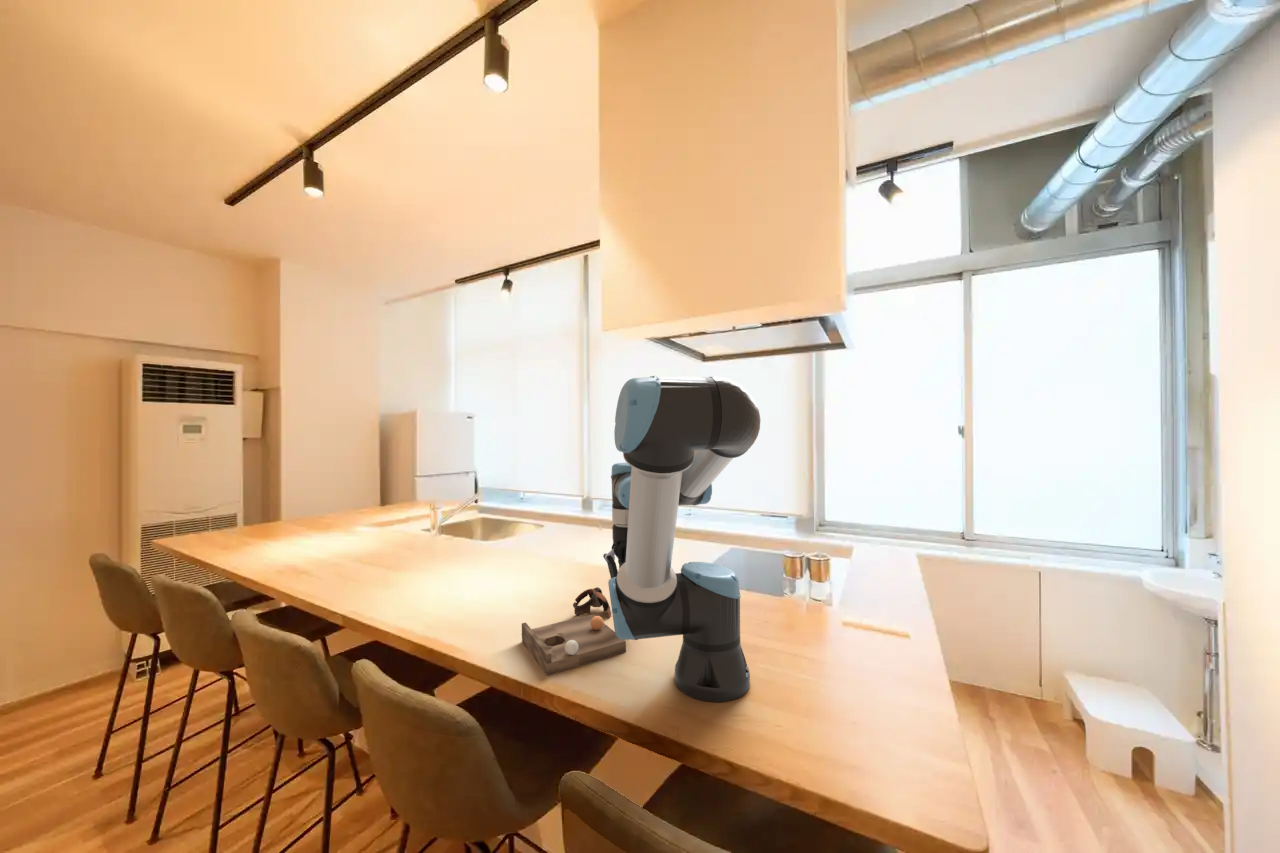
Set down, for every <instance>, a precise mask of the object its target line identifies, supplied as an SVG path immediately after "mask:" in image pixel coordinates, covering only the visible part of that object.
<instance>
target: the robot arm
mask: <svg viewBox="0 0 1280 853" xmlns="http://www.w3.org/2000/svg"><path fill="white" fill-rule="evenodd" d="M619 392H620V393H619V395H618V399H617V404H616V409H615V416H614V417H615V418H614V422H615V425H614V435H613V436H614V445H615V448H616V450H617V451H618V452H620V453H623V454H622V456H623V459H624V461H625V462H618V463H614V464H613V465H611V475H610V479H611V497H612V498H611V502H612V503H611V504H612V505H611V512H612V514H611V516H612V520H611V521H612V524H613V525H612V527H611V528H612V541H613V542H612V546H611V550H609V551H608V553H603V554H602V556H603V559H604V560H605V562H606V563H607V567H608V572H609V575H610V578H609V579H608V581H607V582H608V583H607V584H608V592H609V600H610V606H611V607H610V608H611V615H612V621H613V628H614V632H615V634H616V636H617V637H618V638H619V639H621V640H625V641H628V640H629V641H631V640H633V641H638V640H644V639H654V638H656V639H657V638H662V637H672V636H682V643H681V647H680V650H679V654H678V658H677V660H676V663H675V665H674V681H675V684H676V686H677V687H678V688H679V690H680V691H681V692H682V693H683V694H686V695H688V696H689V697H692V698H693V699H696V700H700V701H705V702H706V701H707V702H712V703H713V702H715V703H719V702H728V701H733V700H736V699H739V698H740V697H743V696H744V695H745V694H746V693H747V692H748V691H749V689H750V685H751V676H750V675H751V674H750V669H749V667H748V664H747V660H746V657H745V654H744V650H743V648H742V645H741V644H742V643H741V597H742V596H741V593H740V592H741V591H740V590H741V589H740V581H739V577H738V575H737V574H736V573H735V572H734V571H733V570H731V569H730V568H727V567H726V566H724V565H723V566H722V565H719V564H717V563H716V564H715V563H712V562H711V563H710V562H707V561H706V562H705V561H690V562H688V563H687V562H686V563H684V564H682V565H681V568H680V572H678V573H676V572H675V570H674V569H673V567H672V560H673V549H674V546H675V545H674V544H675V543H674V542H675V534H676V525H677V519H678V512H679V506H698V505H704V504H705V505H706V504H708V503H709V502H710V501H711V499H712V494H713V485H712V484H713V483H714V481H715V479H716V478H717V477H718V476H720V474H721V473H722V471H724V469H725V468H726V467H727V466H728V465H729V464H730V462H731V461H732V460H733V459H736V458H740V457H741V456H743V455H744V454H746V453H747V452H748V450H749V449H751V447H752V446H753V445H754V444H755V442H756V440H757V438H758V437H759V433H760V429H761V414H760V410H759V407H758V405H757V403H756V400H755V399H754V397H753V396H752V395H751V394H750V392H749V391H747V389H746V388H744V386H742V385H741V384H739V383H738V382H735V381H733V380H732V379H729V378H725V377H722V376H708V377H707V376H657V375H651V376H649V377H646V376H645V377H633V378H631V379H628V380H627V381H626V382H625V383H624V384H623V386H622V388H621V390H620V391H619ZM616 558H617V563H618V567H617V563H616V561H615V560H616Z"/></svg>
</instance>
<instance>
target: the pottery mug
mask: <svg viewBox="0 0 1280 853" xmlns="http://www.w3.org/2000/svg"><path fill="white" fill-rule="evenodd" d="M586 597H589V599H588V600H587V601H586V602H584V603H583V604H580V602H582V600H583V599H585V598H586ZM579 604H580V605H579ZM572 606H573V608H574V611H573V612H574V615H576V616H577V617H581V616H585V615H590V614H592V613H591V612H592V611H591V607H593V608H601V607H602V608H603V612H605V614H606V615H607V618H608V619H610V618H611V617H612V609H611V607H610V606H611V605H610V604H609V601H608V600H607V598H606V596H605V595H604V594H603V591H602V589H601V588H600V587H598V586H596V587H593V588H588V589H586V590H583V591H582V592H581V593H580V594H578V595H577V597H575V599H574V602H573V604H572Z"/></svg>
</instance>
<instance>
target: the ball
mask: <svg viewBox="0 0 1280 853" xmlns="http://www.w3.org/2000/svg"><path fill="white" fill-rule="evenodd" d="M603 624H605V621H604V619H603V618H602V616H600V615H595V617H593V618H592V619H591V627H592V628H593V629H594V630H599V629H601V628H602V627H603Z"/></svg>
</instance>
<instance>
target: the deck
mask: <svg viewBox="0 0 1280 853" xmlns="http://www.w3.org/2000/svg"><path fill="white" fill-rule="evenodd" d="M595 616H596V615H595V614H594V613H591V614H585V615H581V616H577V617H576V618H571V619H567V620H563V621H558V622H556V623H551V624H547V625H542V626H539V627H534V628H531V627H530V626H529V625H528V623H527V622H523V623H521V642H522V643H523V646H524V647H525V648H526V649H527V650H528V652H529V653H530V654H531V656H532V657H533V659H534V660H535V662H536V663H537V664H538V666H539V667H540V668H541V669H542V671H543V672H544V673H545V675H546V676H547V677H548V676H550V675H554V674H558V673H561V672H564V671H568V670H571V669H573V668H577V667H580V666H583V665H587V664H590V663H593V662H597V661H599V660H603V659H607V658H610V657H614V656H615V655H619V654H623V653H626V652H627V640H621V639H619V638H618V637H617V636H616V634H615V630H613V629H612V628H611V627H610V626H609V625H607V624H606V623H604V624H603V627H602V628H601V629H599V630H594V629H593V628H592V627H591V619H592V618H593V617H595ZM569 640H575V641H576V642H577V643H578V651H577V652H576V653H575V654H574V655H569V654H567V653H566V652H565V644H566V643H567V642H568V641H569Z"/></svg>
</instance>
